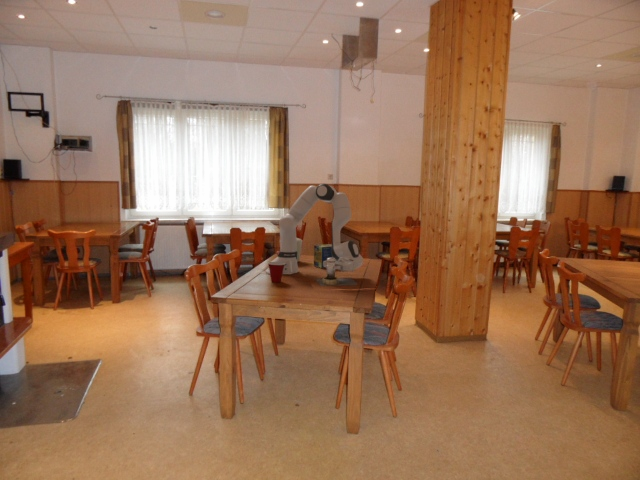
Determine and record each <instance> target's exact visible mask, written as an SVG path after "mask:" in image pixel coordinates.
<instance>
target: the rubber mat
mask: <svg viewBox="0 0 640 480" xmlns="http://www.w3.org/2000/svg"><path fill="white" fill-rule="evenodd" d="M315 280H316V282H317V283H318V285H319V286H320V287H325V286H326V287H330V286H359V284H358V283H357V282H356V281H355V280H354V278H338V284H336V285H325V284H323V283H322V279H321V278H317V279H315Z"/></svg>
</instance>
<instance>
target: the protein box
mask: <svg viewBox="0 0 640 480" xmlns="http://www.w3.org/2000/svg"><path fill="white" fill-rule="evenodd" d="M331 247H332V243H327V244H314V245H313V267H315V266H317V267H316V268H319V267H320V268H319V269H326V268H325V267H323V261H327V258H329V257H332V258H334V257H333V256H332V254H331ZM335 261H338V260H337V259H335Z"/></svg>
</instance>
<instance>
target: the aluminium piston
mask: <svg viewBox="0 0 640 480" xmlns="http://www.w3.org/2000/svg"><path fill="white" fill-rule="evenodd" d="M333 266H335V258H332V257H329V258H327V268H326V277H327V278H328V279H334V278H335V277H336V270H335V269H333Z"/></svg>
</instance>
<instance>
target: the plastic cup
mask: <svg viewBox="0 0 640 480" xmlns="http://www.w3.org/2000/svg"><path fill="white" fill-rule="evenodd" d="M267 265H268V269H269V270H270V274H269V275H270V280H271V283H274V284H275V283H276V284H277V283H281V282H282V278H283V275H284V274H283V268H284V265H285V263H281V262H271V261H269V262H267Z"/></svg>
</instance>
